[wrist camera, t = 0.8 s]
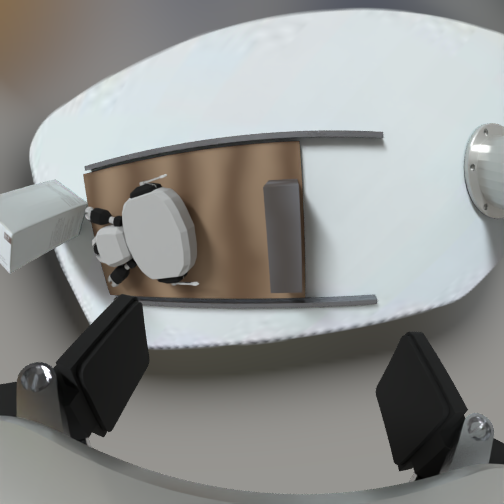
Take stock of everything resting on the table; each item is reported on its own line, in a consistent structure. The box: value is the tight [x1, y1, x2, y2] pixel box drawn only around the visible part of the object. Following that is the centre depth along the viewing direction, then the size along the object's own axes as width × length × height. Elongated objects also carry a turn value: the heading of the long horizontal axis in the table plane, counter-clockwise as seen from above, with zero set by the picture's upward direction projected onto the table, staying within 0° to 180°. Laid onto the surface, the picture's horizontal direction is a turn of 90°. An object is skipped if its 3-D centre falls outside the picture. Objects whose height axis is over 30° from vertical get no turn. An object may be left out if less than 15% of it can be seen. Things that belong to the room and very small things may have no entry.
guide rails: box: [85, 131, 383, 308], centre depth 31 cm, size 36×20×1 cm, turn 95°
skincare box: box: [0, 179, 88, 273], centre depth 27 cm, size 8×6×15 cm
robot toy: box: [85, 174, 199, 287], centre depth 31 cm, size 12×4×15 cm
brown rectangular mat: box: [83, 141, 305, 299], centre depth 29 cm, size 28×18×6 cm, turn 95°
